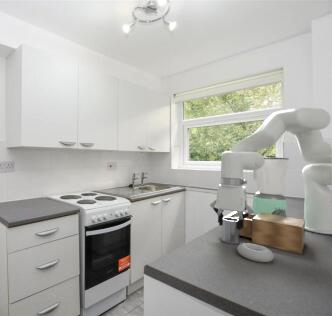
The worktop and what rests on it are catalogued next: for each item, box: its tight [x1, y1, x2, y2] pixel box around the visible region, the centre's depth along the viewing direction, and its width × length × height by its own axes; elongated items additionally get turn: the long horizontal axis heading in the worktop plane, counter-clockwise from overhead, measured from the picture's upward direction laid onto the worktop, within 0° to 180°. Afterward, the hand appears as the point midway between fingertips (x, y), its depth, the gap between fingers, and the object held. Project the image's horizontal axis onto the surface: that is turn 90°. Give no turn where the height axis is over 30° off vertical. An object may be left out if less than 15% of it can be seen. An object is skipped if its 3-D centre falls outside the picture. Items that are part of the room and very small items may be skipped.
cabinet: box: [251, 213, 306, 255], centre depth 88 cm, size 15×15×10 cm
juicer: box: [252, 155, 290, 217], centre depth 108 cm, size 19×13×35 cm
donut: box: [237, 242, 275, 263], centre depth 75 cm, size 10×4×10 cm
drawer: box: [224, 211, 256, 239], centre depth 96 cm, size 18×13×8 cm
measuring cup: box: [220, 217, 240, 245], centre depth 89 cm, size 6×6×9 cm
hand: (230, 226), depth 89 cm, fingers closed on measuring cup, 5 cm apart
